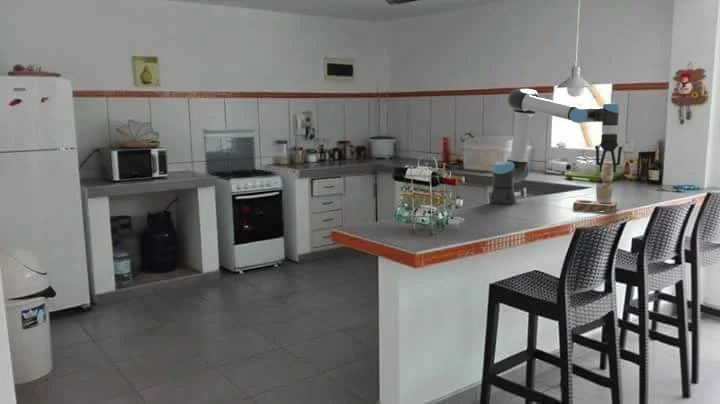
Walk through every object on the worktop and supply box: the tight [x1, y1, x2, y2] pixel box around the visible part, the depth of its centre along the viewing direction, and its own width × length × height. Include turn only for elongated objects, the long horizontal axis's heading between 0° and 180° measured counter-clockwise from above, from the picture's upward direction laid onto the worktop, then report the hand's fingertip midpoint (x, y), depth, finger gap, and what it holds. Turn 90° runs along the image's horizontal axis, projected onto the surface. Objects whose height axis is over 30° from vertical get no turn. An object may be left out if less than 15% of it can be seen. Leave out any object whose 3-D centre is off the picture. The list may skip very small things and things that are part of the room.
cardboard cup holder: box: [572, 199, 618, 213], centre depth 310 cm, size 20×12×4 cm, turn 61°
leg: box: [602, 161, 613, 190], centre depth 305 cm, size 4×4×14 cm
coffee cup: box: [595, 177, 615, 202], centre depth 325 cm, size 9×9×15 cm
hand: (607, 178), depth 305 cm, fingers closed on leg, 4 cm apart
